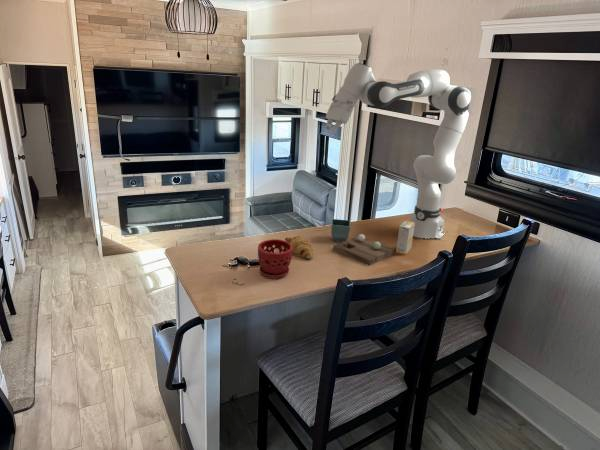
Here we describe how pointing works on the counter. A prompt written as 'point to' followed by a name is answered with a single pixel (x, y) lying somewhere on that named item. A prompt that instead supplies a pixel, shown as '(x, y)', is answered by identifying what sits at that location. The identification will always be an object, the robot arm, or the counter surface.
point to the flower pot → (340, 229)
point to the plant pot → (274, 258)
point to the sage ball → (377, 245)
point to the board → (362, 250)
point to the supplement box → (405, 237)
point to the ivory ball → (361, 237)
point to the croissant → (300, 247)
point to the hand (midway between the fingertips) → (329, 130)
